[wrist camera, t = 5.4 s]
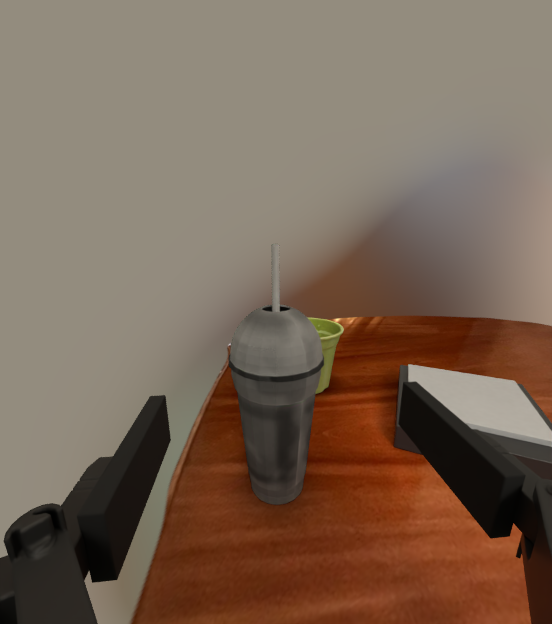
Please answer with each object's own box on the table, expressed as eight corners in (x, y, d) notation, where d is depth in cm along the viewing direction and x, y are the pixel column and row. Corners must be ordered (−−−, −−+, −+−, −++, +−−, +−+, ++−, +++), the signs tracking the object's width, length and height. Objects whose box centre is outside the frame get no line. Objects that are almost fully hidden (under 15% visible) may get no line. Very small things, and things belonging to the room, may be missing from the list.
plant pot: (278, 405, 36) (278, 340, 33) (270, 371, 45) (270, 318, 42) (350, 399, 37) (354, 336, 35) (328, 367, 46) (330, 316, 44)
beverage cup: (314, 450, 28) (320, 242, 23) (326, 521, 21) (340, 244, 16) (240, 450, 28) (230, 242, 23) (228, 521, 21) (210, 245, 16)
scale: (393, 449, 28) (396, 421, 27) (398, 380, 42) (400, 360, 41) (583, 500, 23) (593, 468, 22) (517, 401, 36) (523, 379, 35)
